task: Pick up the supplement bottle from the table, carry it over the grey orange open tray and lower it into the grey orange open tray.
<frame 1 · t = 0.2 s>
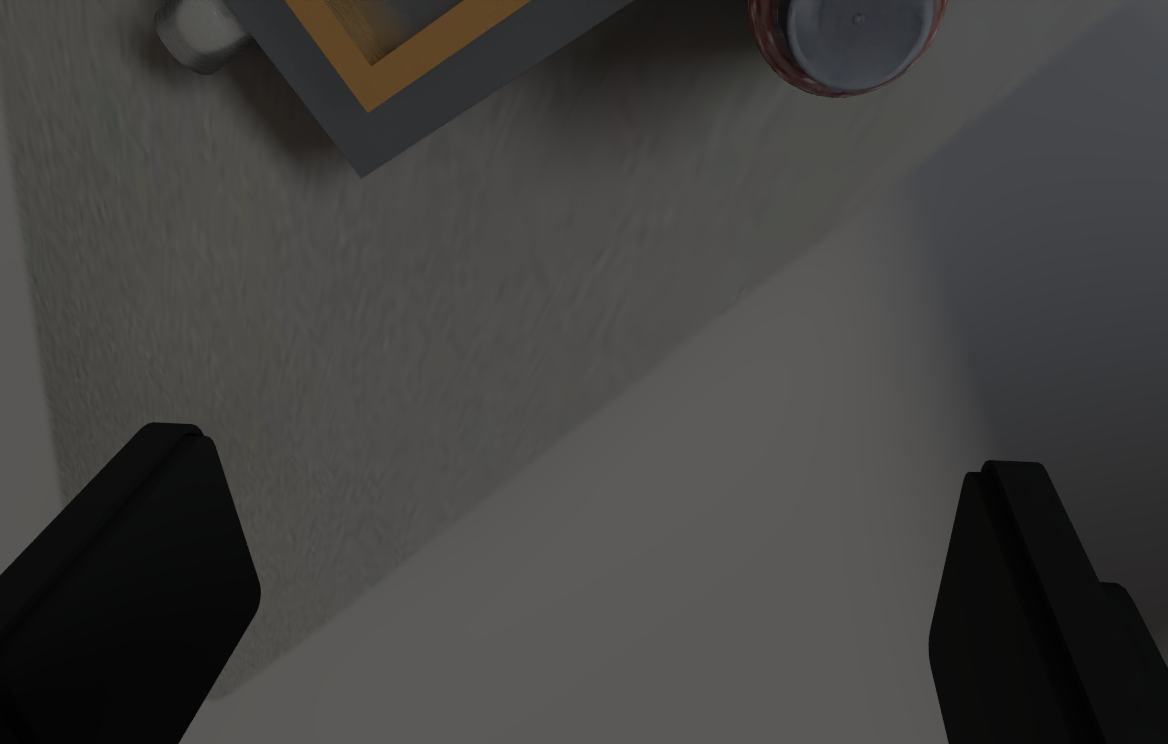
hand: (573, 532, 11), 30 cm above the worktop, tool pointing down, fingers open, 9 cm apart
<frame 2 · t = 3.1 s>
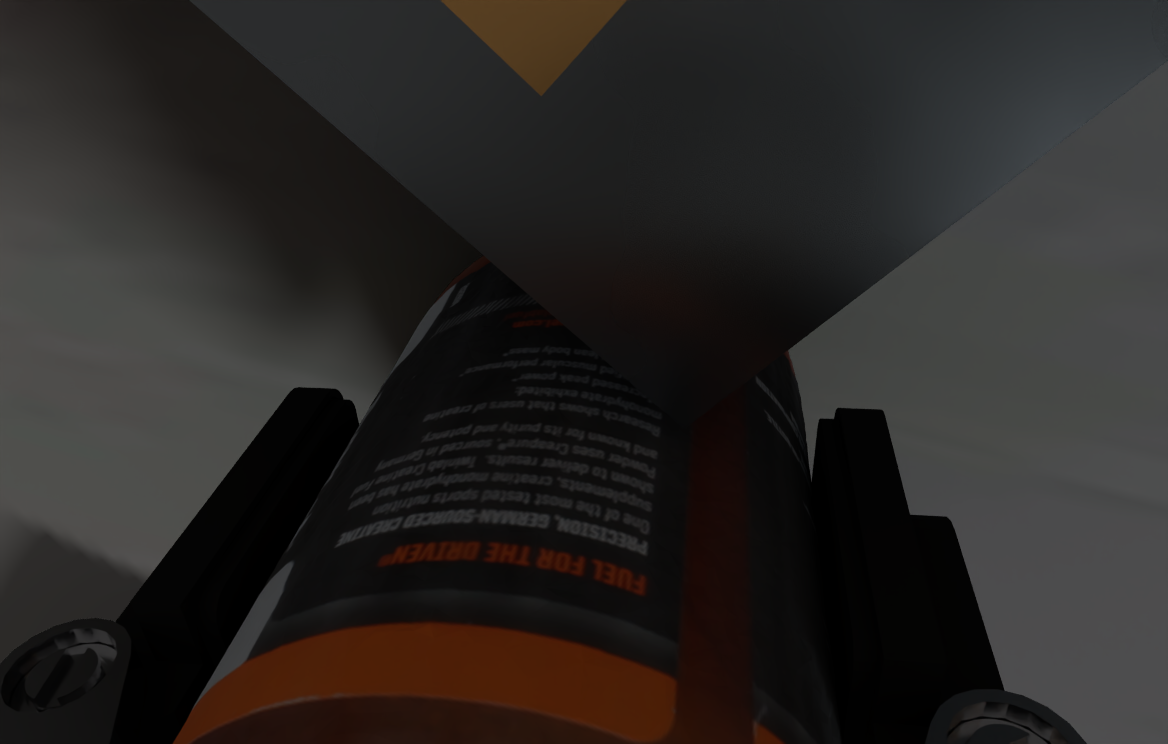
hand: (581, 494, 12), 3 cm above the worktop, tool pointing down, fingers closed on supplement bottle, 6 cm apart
supplement bottle: (606, 381, 14), on the worktop, touching gripper
when the fingers open (9 cm above the worktop, at t = 8.1 s): supplement bottle drops 1 cm, resting on grey orange open tray.
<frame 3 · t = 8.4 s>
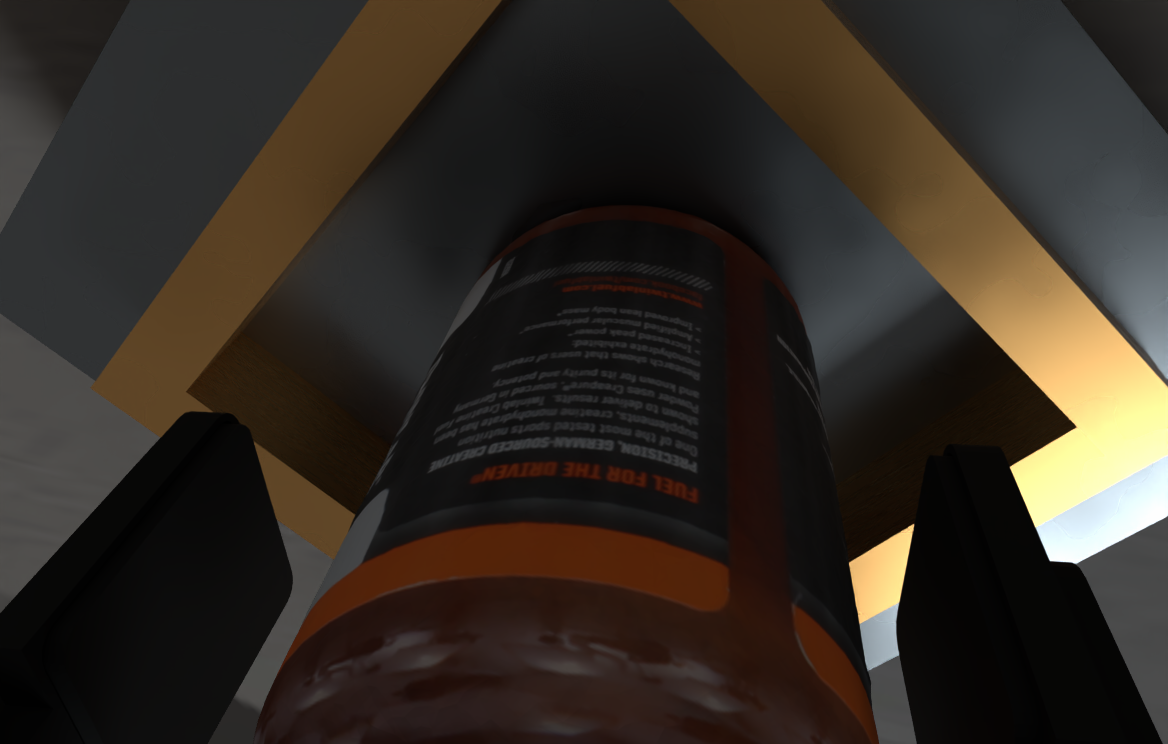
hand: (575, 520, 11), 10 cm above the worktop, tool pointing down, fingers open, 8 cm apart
grey orange open tray: (639, 228, 19), on the worktop
supplement bottle: (633, 350, 16), point 5 cm above the worktop, touching grey orange open tray
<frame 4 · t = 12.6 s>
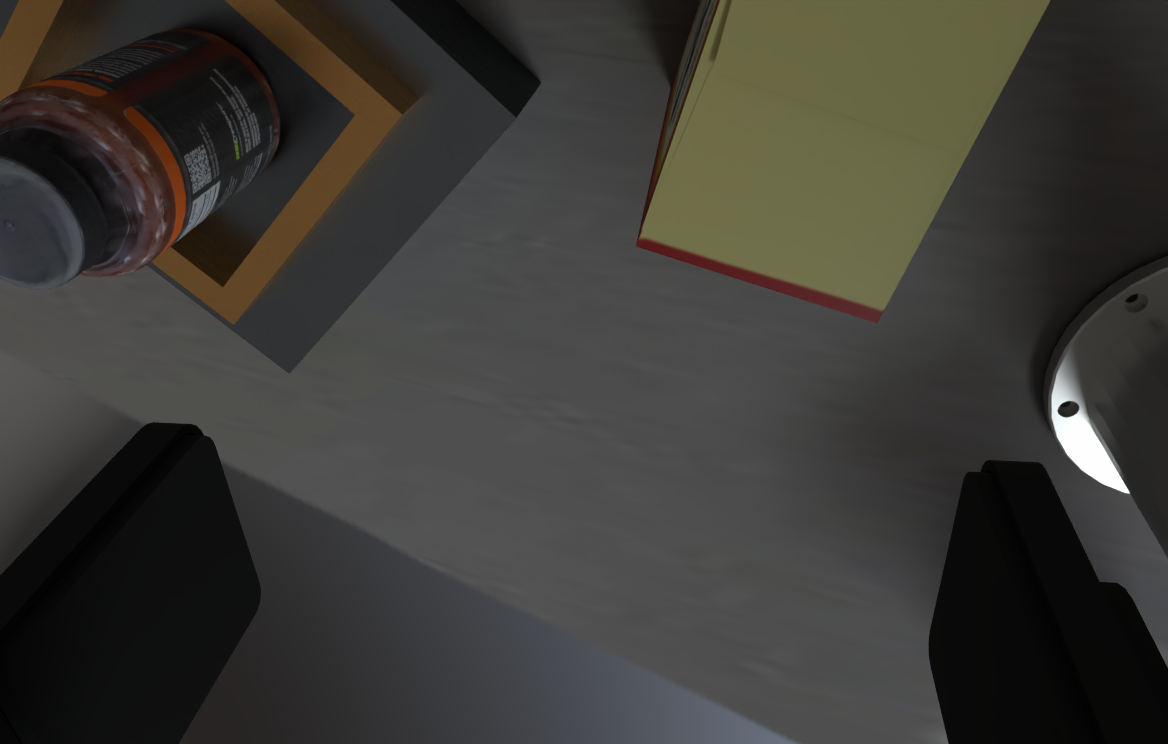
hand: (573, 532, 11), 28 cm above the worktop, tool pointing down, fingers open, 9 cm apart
grey orange open tray: (260, 69, 38), on the worktop
supplement bottle: (213, 106, 34), point 5 cm above the worktop, touching grey orange open tray
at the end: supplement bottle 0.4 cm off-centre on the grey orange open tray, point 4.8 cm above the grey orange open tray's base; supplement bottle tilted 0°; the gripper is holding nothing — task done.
